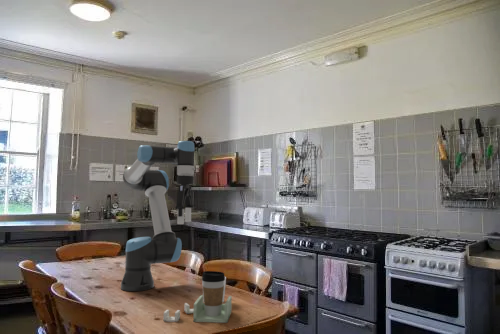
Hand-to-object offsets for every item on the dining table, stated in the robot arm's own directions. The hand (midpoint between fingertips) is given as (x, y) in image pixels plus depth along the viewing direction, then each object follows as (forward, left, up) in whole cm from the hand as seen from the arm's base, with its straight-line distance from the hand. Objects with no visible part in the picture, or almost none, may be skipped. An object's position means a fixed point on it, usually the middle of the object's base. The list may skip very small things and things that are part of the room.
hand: (184, 223), depth 170 cm
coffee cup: (+18, -27, -31) cm, 45 cm away
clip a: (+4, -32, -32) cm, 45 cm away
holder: (+18, -27, -32) cm, 45 cm away
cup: (+15, -8, -32) cm, 36 cm away
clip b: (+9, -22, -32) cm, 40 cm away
